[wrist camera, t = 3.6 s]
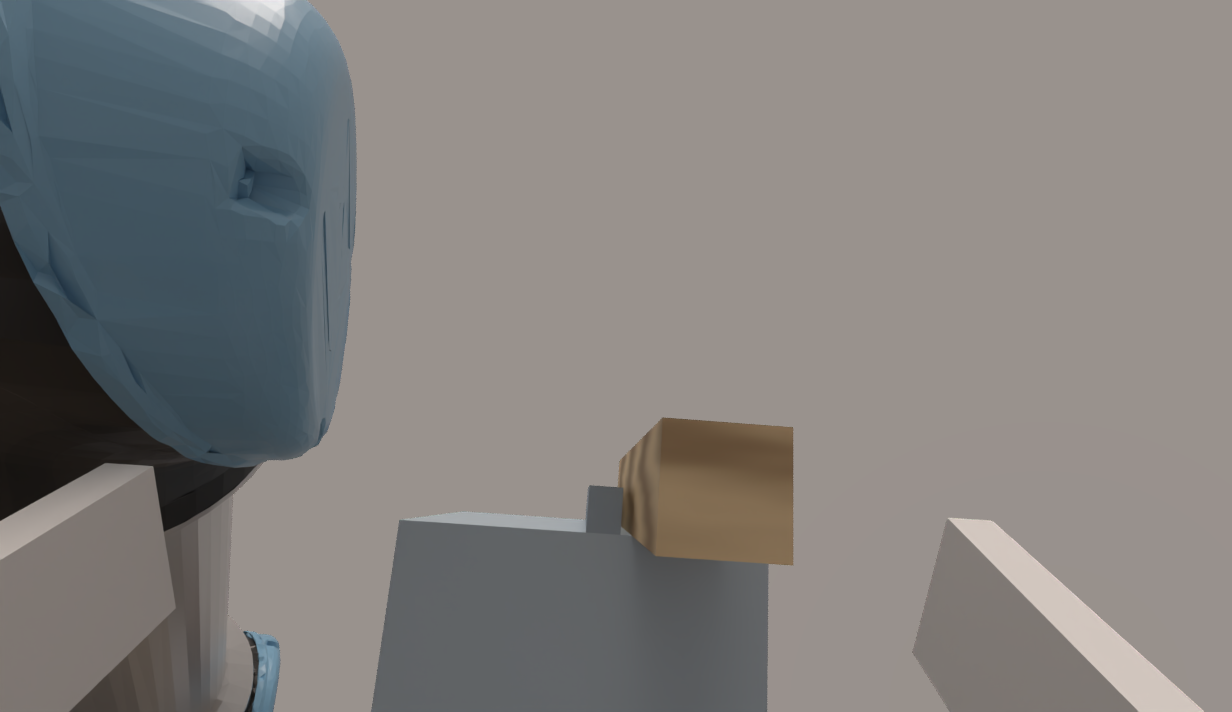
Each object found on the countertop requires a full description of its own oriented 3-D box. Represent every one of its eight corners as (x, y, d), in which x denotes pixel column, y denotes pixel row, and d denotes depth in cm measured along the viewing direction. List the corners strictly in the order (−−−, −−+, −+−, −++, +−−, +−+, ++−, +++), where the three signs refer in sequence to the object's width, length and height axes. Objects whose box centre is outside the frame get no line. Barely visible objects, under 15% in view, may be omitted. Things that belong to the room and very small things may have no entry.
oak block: (793, 565, 17) (793, 427, 18) (655, 556, 17) (662, 417, 18) (675, 526, 40) (678, 465, 41) (615, 521, 39) (619, 460, 40)
